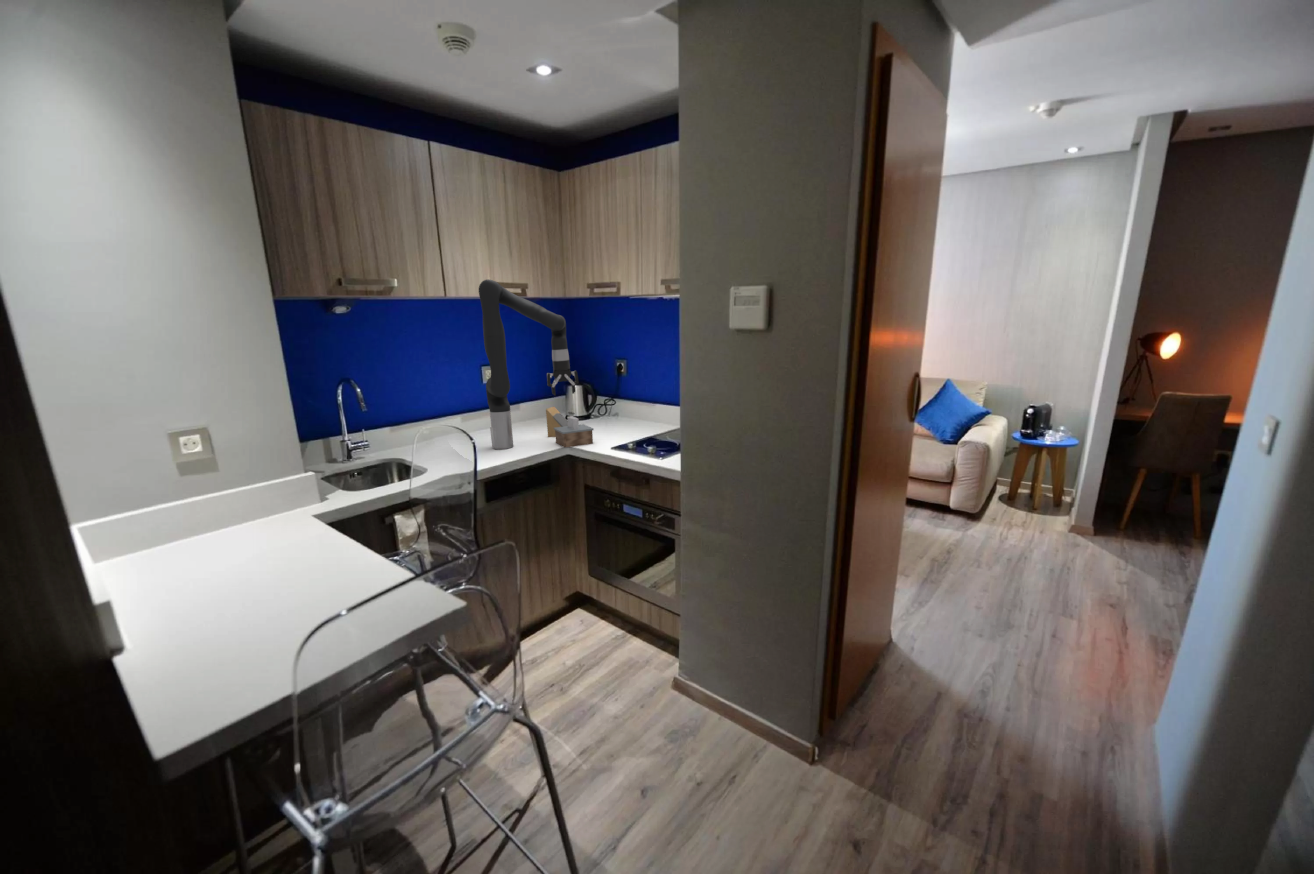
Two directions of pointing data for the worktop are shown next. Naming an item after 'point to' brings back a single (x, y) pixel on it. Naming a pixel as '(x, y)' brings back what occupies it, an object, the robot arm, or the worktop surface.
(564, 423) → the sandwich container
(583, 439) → the box
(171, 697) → the worktop surface
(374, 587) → the worktop surface
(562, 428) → the lid
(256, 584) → the worktop surface
